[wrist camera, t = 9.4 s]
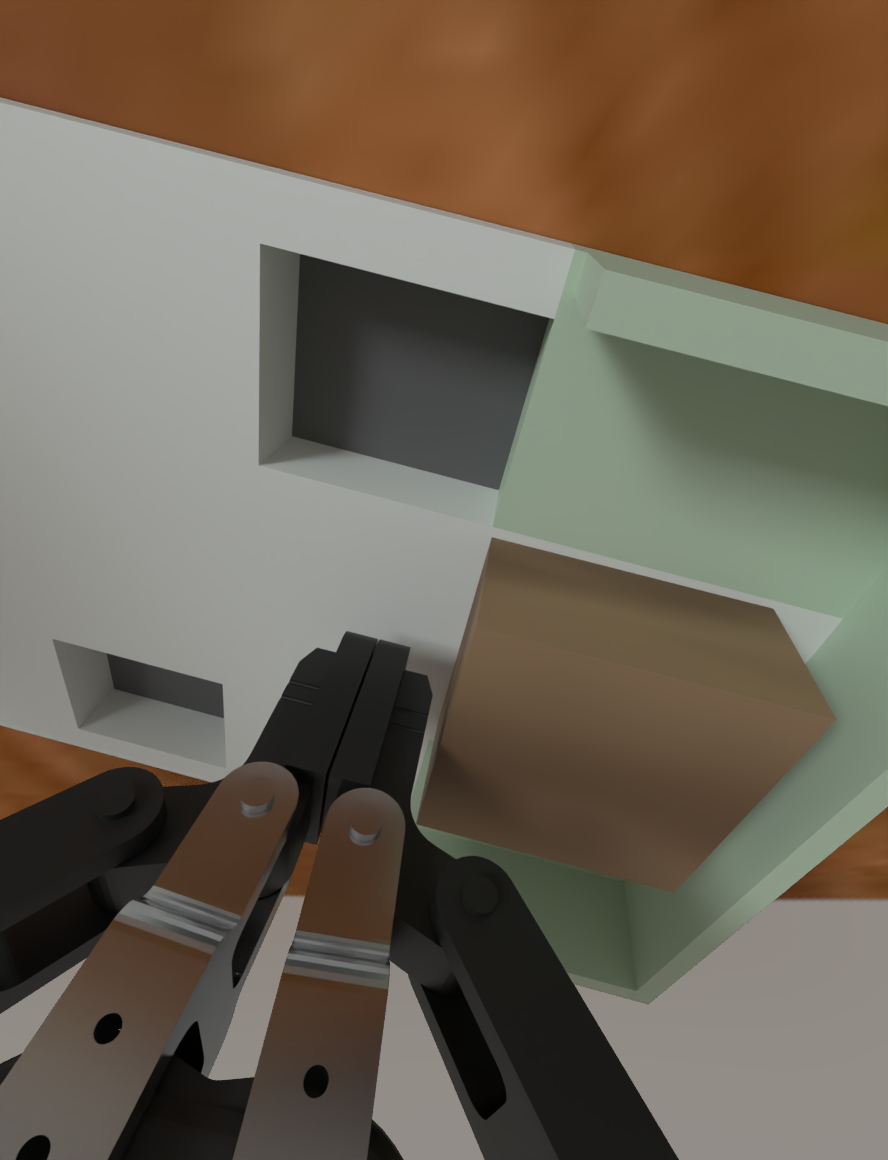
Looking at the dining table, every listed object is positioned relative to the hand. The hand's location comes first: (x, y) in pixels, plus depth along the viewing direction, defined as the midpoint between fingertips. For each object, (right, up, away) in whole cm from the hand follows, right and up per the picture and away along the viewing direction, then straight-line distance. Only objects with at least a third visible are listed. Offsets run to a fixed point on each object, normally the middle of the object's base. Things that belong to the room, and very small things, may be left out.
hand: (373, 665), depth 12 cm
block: (+5, 0, +1) cm, 5 cm away
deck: (-2, +2, +3) cm, 4 cm away
